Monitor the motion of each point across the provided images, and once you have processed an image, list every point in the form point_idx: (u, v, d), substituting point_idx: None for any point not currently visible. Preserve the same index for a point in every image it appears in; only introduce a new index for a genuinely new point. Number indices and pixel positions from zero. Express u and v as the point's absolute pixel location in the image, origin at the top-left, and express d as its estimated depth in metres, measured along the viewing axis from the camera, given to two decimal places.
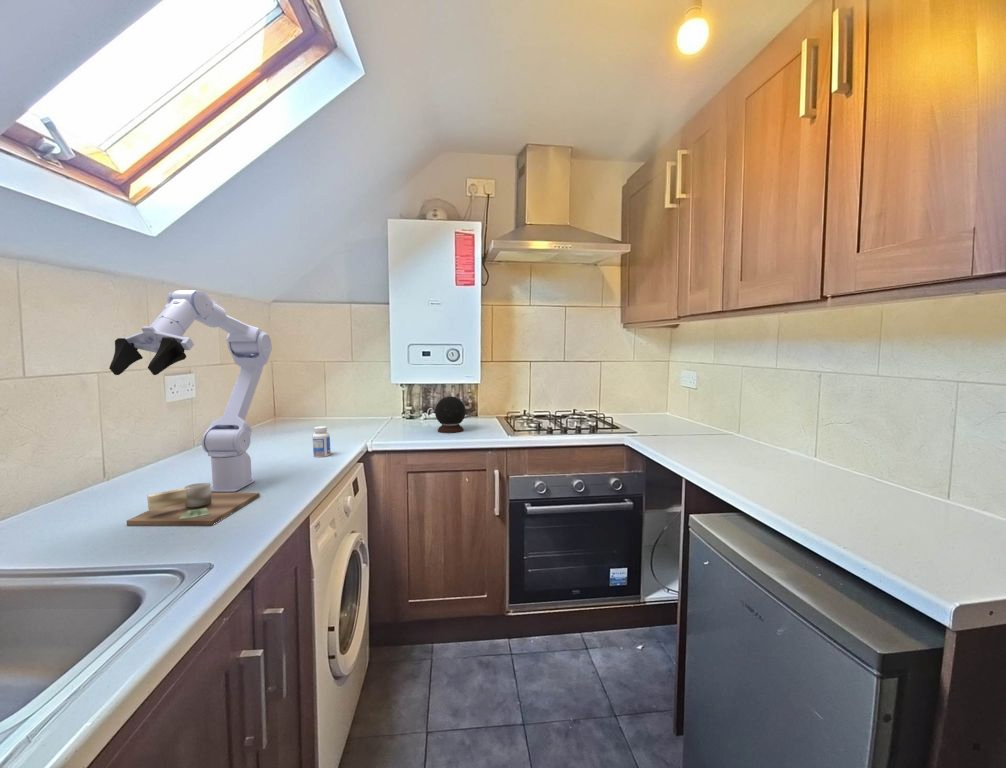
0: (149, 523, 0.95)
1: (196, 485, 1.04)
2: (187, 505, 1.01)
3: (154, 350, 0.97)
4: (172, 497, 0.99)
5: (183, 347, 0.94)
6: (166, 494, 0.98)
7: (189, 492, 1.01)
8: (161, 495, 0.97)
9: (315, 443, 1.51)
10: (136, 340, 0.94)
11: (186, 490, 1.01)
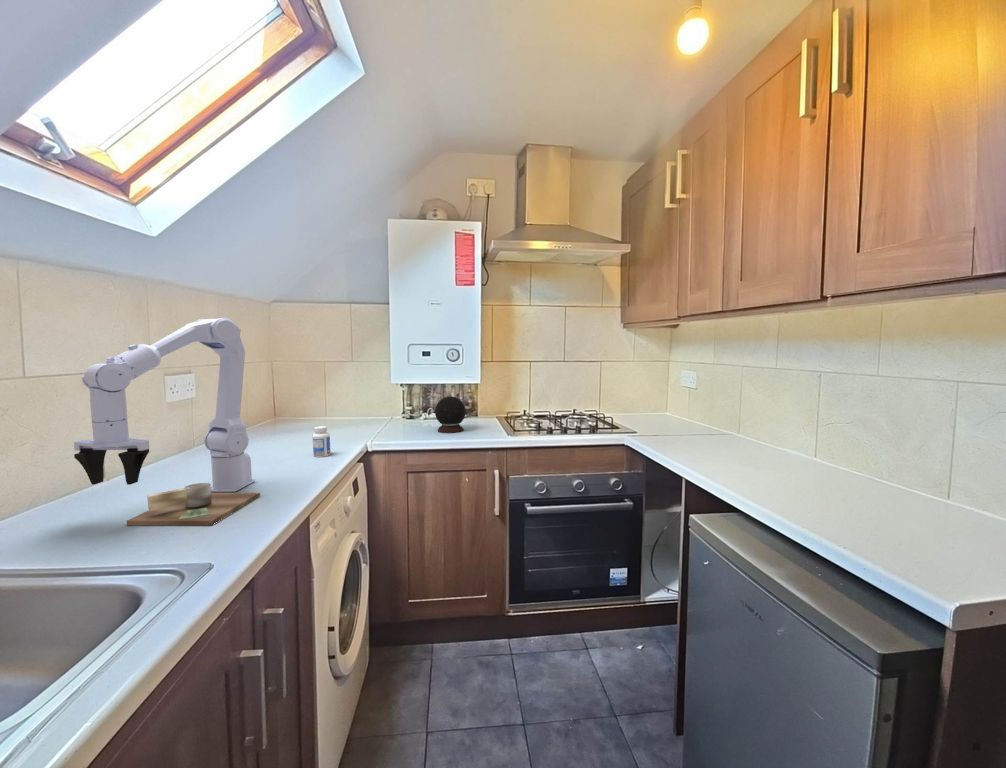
0: (149, 523, 0.95)
1: (196, 485, 1.04)
2: (187, 505, 1.01)
3: None
4: (172, 497, 0.99)
5: None
6: (166, 494, 0.98)
7: (189, 492, 1.01)
8: (161, 495, 0.97)
9: (315, 443, 1.51)
10: None
11: (186, 490, 1.01)
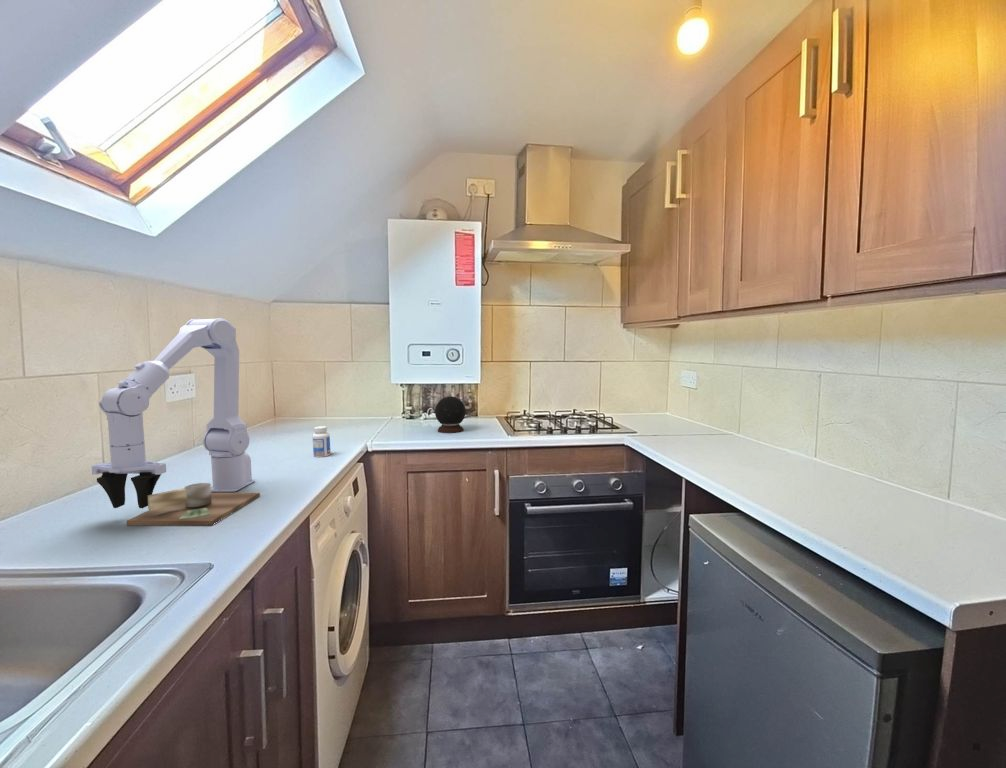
0: (149, 523, 0.95)
1: (196, 485, 1.04)
2: (187, 505, 1.01)
3: None
4: (172, 497, 0.99)
5: None
6: (166, 494, 0.98)
7: (189, 492, 1.01)
8: (161, 495, 0.97)
9: (315, 443, 1.51)
10: None
11: (186, 490, 1.01)
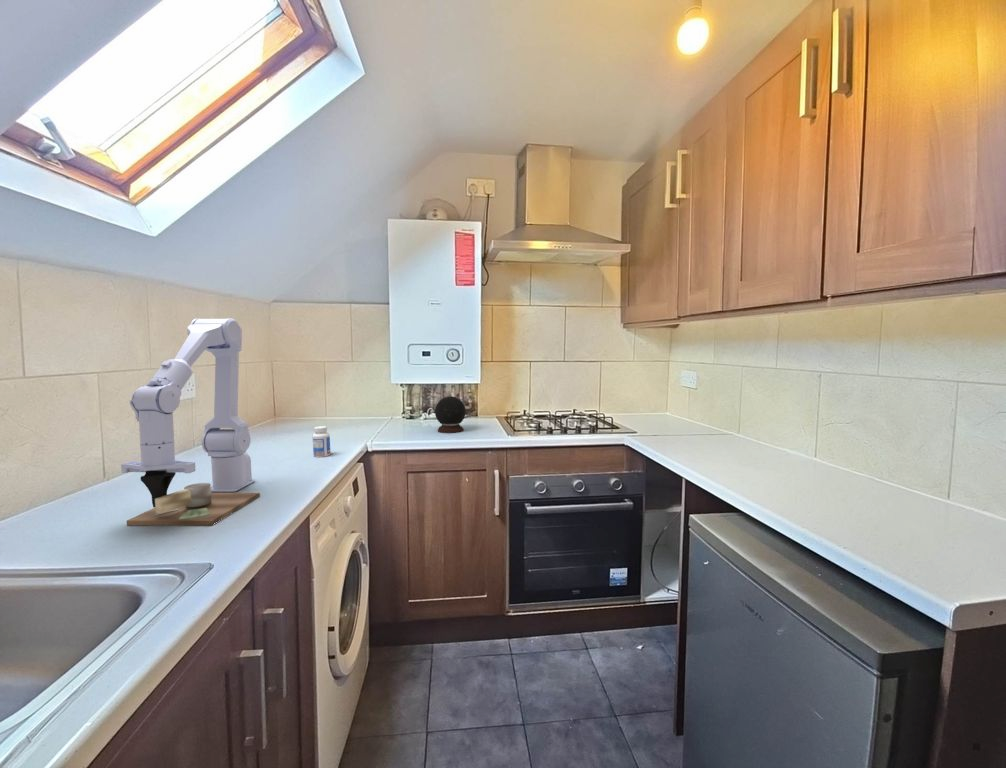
0: (149, 523, 0.95)
1: (194, 485, 1.03)
2: (191, 505, 1.01)
3: None
4: (179, 498, 0.98)
5: None
6: (174, 495, 0.97)
7: (194, 492, 1.01)
8: (170, 497, 0.96)
9: (315, 443, 1.51)
10: None
11: (191, 490, 1.01)
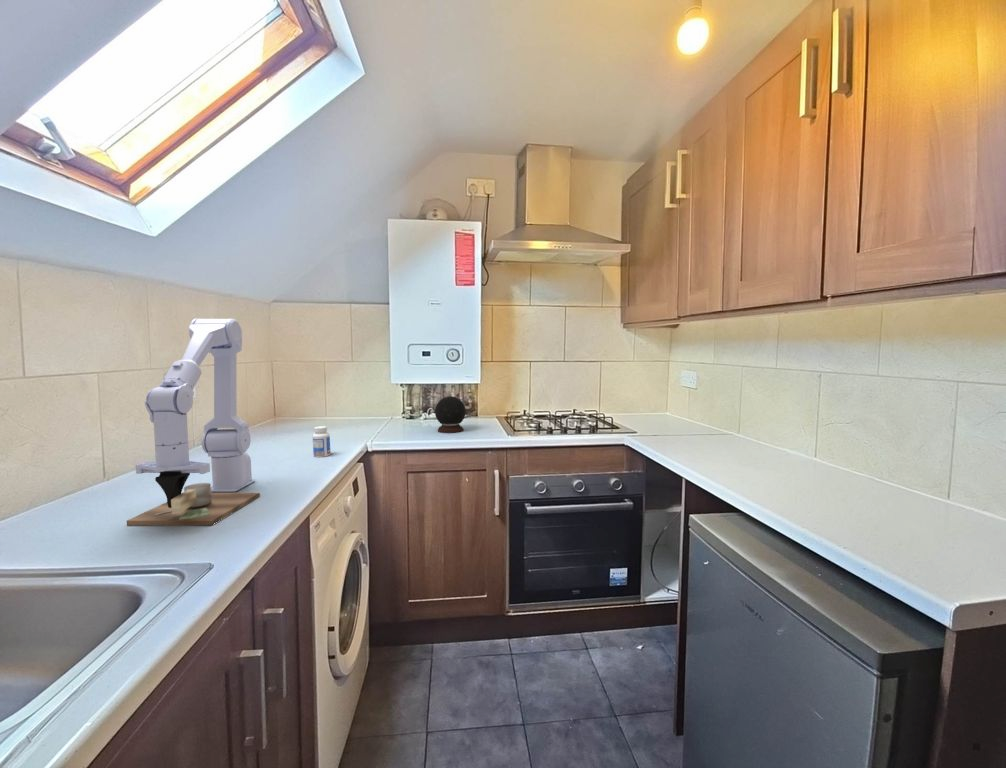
0: (149, 523, 0.95)
1: (193, 486, 1.03)
2: (197, 505, 1.01)
3: None
4: (190, 498, 0.98)
5: None
6: (187, 495, 0.97)
7: (200, 491, 1.01)
8: (184, 496, 0.96)
9: (315, 443, 1.51)
10: None
11: (196, 490, 1.01)
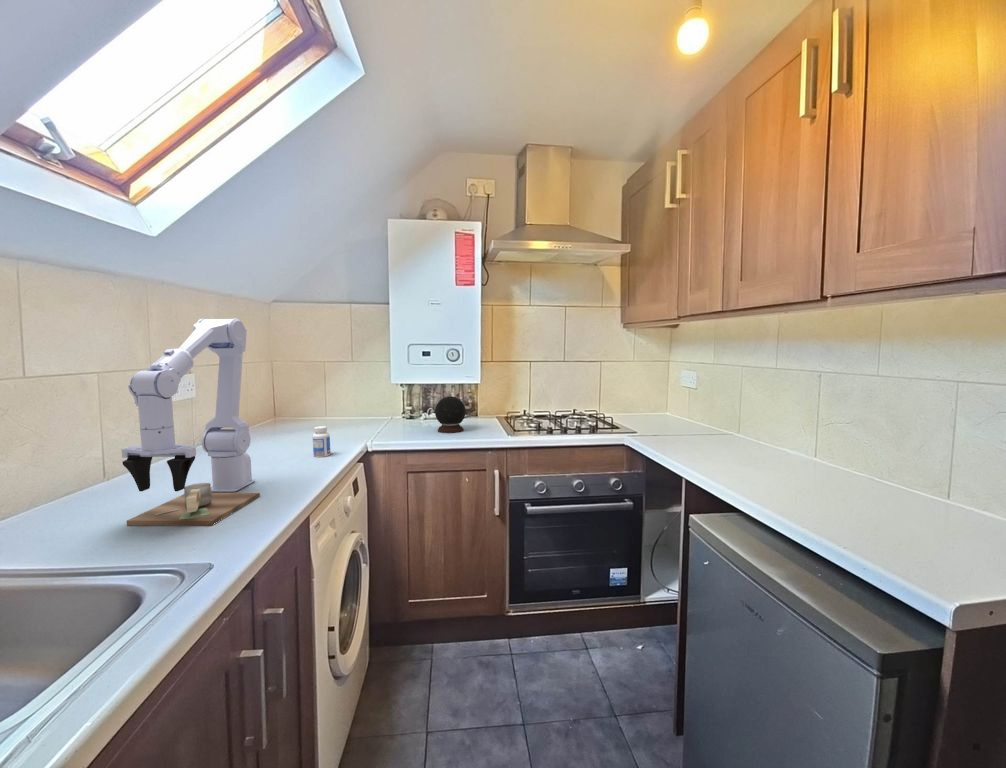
0: (149, 523, 0.95)
1: (193, 486, 1.03)
2: (201, 504, 1.02)
3: None
4: (198, 497, 0.99)
5: None
6: (197, 494, 0.98)
7: (204, 490, 1.02)
8: (196, 495, 0.97)
9: (315, 443, 1.51)
10: None
11: (200, 489, 1.01)
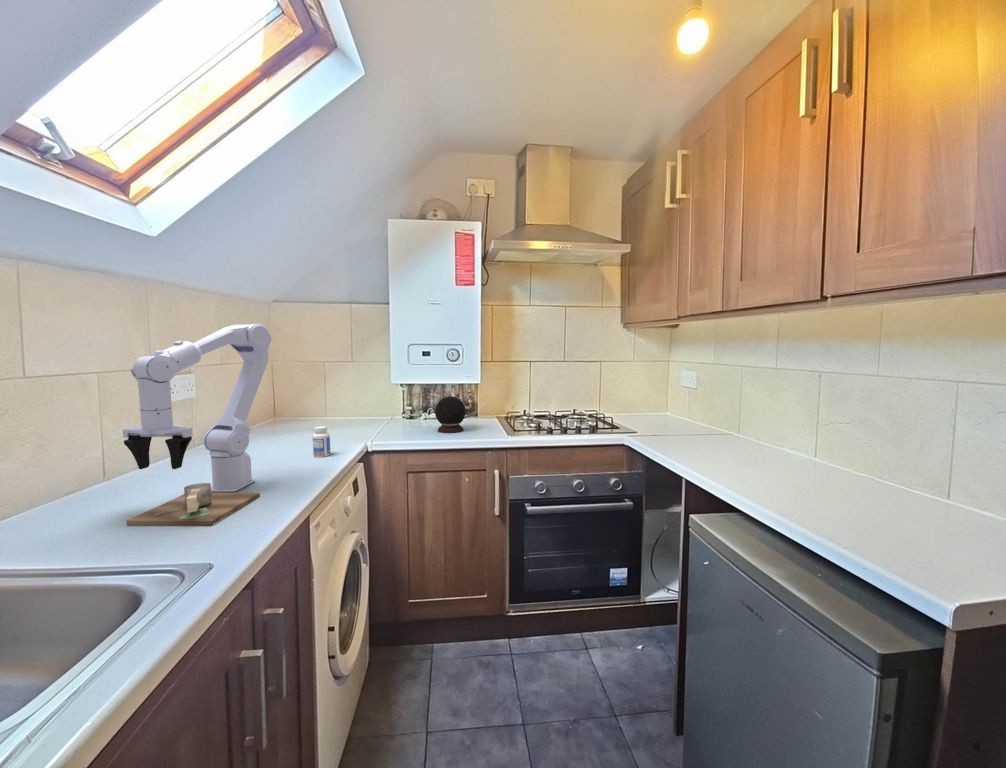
0: (149, 523, 0.95)
1: (193, 486, 1.03)
2: (201, 504, 1.02)
3: None
4: (198, 497, 0.99)
5: (186, 436, 1.03)
6: (197, 494, 0.98)
7: (204, 490, 1.02)
8: (197, 495, 0.97)
9: (315, 443, 1.51)
10: None
11: (201, 489, 1.01)
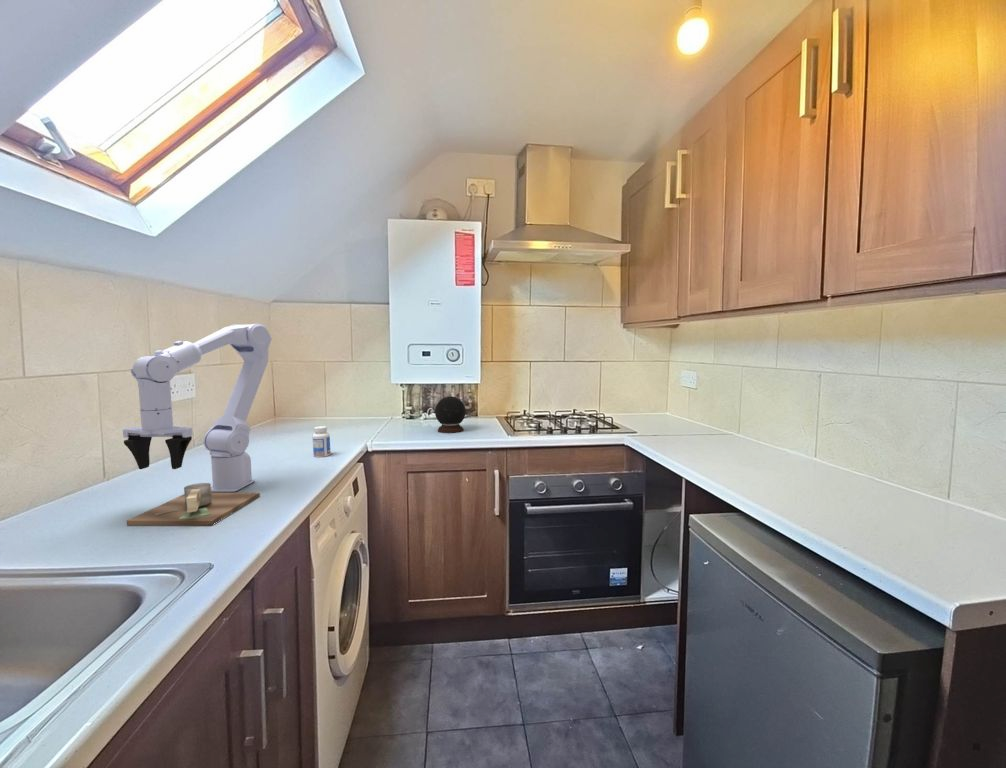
0: (149, 523, 0.95)
1: (193, 486, 1.03)
2: (201, 504, 1.02)
3: None
4: (198, 497, 0.99)
5: (186, 436, 1.03)
6: (197, 494, 0.98)
7: (204, 490, 1.02)
8: (197, 495, 0.97)
9: (315, 443, 1.51)
10: None
11: (201, 489, 1.01)
